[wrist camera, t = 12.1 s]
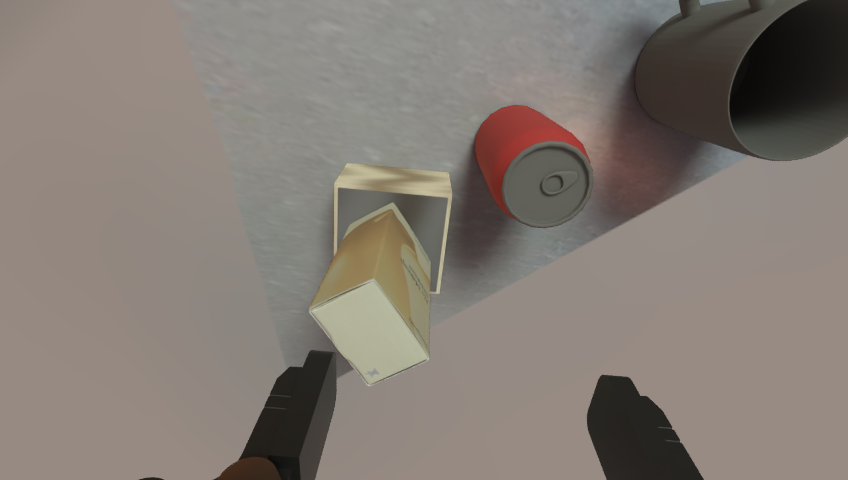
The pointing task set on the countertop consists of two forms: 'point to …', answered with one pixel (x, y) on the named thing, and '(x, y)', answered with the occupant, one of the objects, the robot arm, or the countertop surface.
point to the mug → (751, 75)
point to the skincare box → (377, 297)
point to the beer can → (533, 166)
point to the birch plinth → (397, 205)
